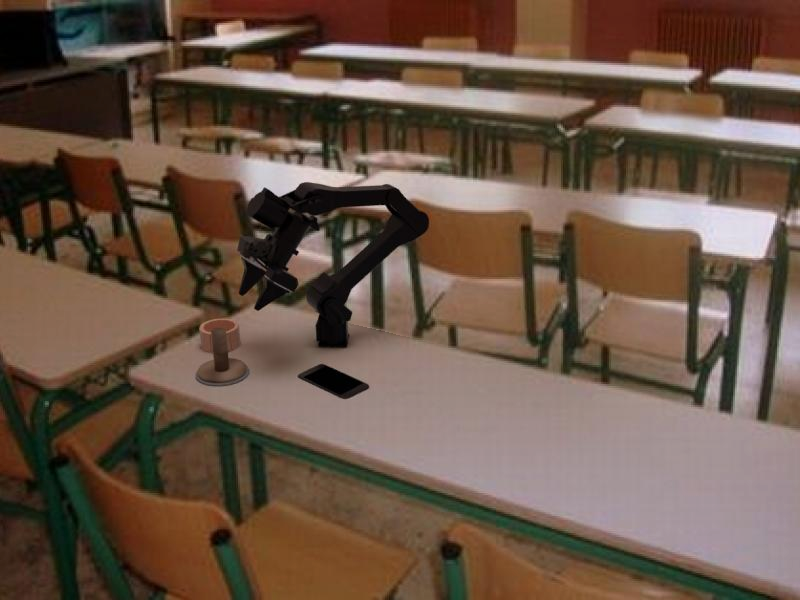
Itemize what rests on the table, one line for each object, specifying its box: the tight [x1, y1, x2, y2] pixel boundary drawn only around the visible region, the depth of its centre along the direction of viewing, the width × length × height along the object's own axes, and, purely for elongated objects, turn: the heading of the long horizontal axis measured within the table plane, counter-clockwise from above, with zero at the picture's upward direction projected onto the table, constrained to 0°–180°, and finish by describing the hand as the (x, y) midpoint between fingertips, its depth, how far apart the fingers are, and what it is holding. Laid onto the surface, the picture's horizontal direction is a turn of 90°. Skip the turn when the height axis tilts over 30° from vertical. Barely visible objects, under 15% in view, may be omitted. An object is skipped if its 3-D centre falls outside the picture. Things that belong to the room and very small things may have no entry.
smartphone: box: [297, 363, 370, 400], centre depth 196 cm, size 7×15×1 cm, turn 46°
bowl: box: [198, 318, 242, 354], centre depth 212 cm, size 8×8×4 cm
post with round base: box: [197, 328, 247, 383], centre depth 198 cm, size 10×10×10 cm
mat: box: [195, 364, 250, 387], centre depth 200 cm, size 11×11×1 cm
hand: (248, 302), depth 200 cm, fingers open, 9 cm apart
